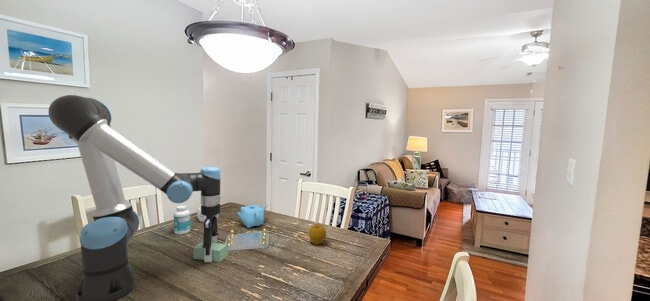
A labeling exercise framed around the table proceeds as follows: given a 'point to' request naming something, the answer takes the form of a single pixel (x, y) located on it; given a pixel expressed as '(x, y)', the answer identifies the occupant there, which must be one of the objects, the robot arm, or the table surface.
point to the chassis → (247, 240)
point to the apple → (317, 234)
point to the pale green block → (217, 251)
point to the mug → (200, 216)
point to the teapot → (252, 215)
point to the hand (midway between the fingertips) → (210, 256)
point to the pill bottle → (181, 220)
